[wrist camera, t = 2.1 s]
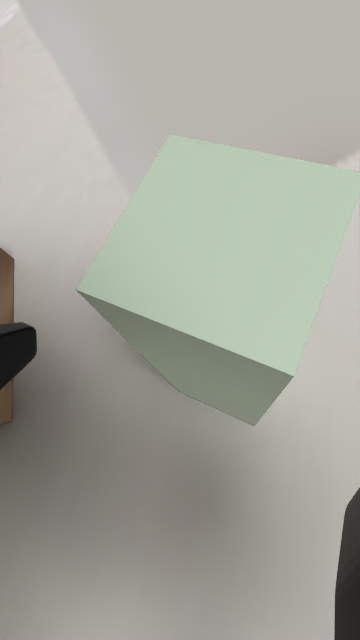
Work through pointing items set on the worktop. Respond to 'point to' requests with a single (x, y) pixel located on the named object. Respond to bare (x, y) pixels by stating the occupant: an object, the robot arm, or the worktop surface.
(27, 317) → the worktop surface
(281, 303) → the sage block
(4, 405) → the walnut base
